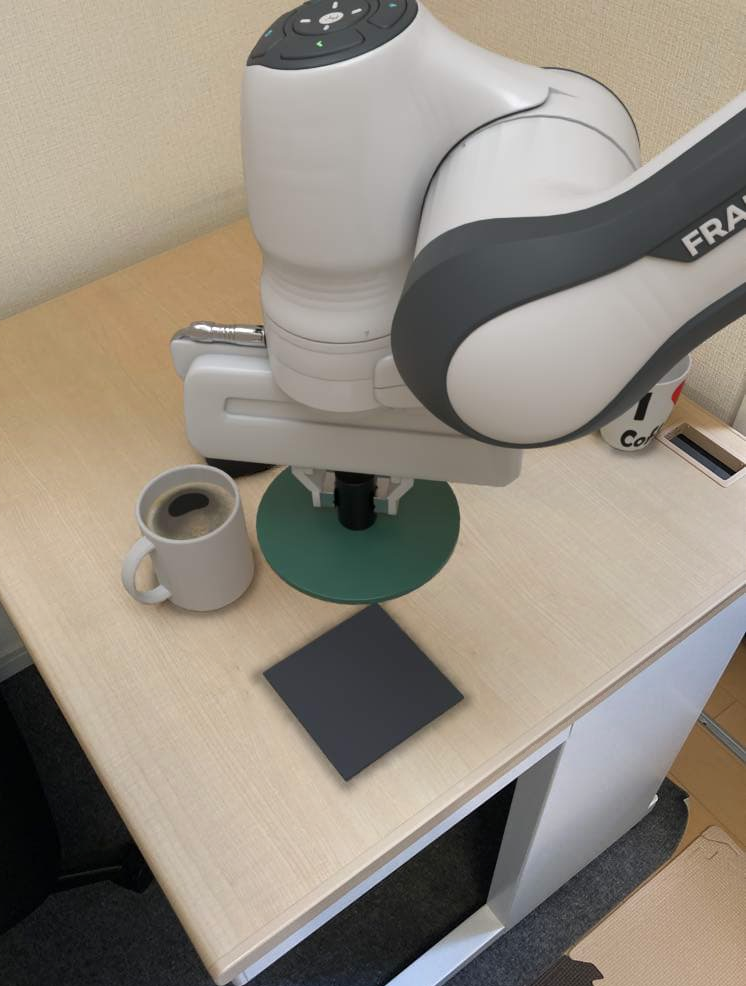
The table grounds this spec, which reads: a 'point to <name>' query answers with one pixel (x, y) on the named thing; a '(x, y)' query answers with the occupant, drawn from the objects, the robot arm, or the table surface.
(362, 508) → the tin lid
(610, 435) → the cup
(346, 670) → the mat
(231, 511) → the mug
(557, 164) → the robot arm
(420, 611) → the table surface
